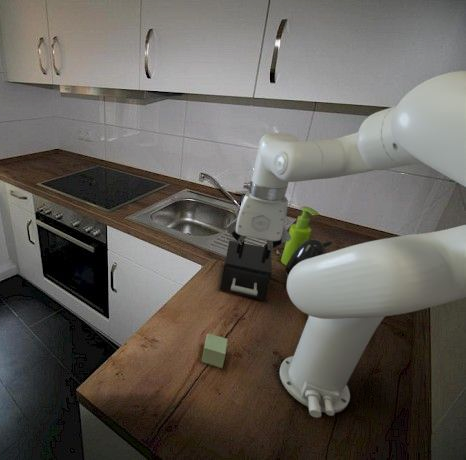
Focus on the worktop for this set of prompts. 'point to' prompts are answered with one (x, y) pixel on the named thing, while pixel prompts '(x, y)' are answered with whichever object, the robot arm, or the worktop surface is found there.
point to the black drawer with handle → (245, 282)
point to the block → (214, 350)
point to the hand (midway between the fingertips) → (251, 257)
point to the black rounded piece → (306, 252)
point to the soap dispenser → (298, 234)
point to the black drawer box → (247, 260)
